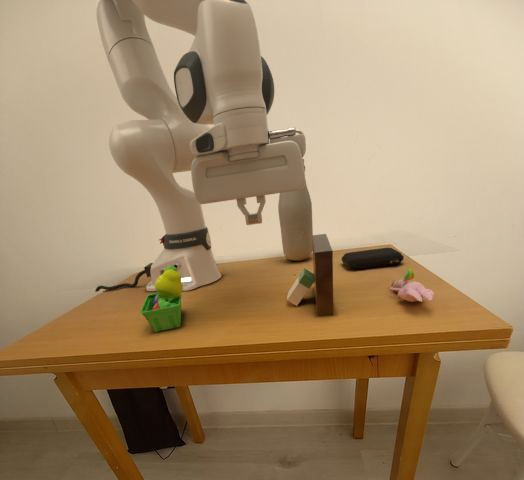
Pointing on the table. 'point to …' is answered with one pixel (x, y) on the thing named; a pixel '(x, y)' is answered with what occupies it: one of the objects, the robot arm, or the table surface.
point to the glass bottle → (296, 223)
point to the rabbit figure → (411, 289)
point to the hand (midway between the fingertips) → (254, 223)
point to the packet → (300, 287)
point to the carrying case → (372, 258)
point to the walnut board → (323, 274)
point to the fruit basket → (165, 301)
